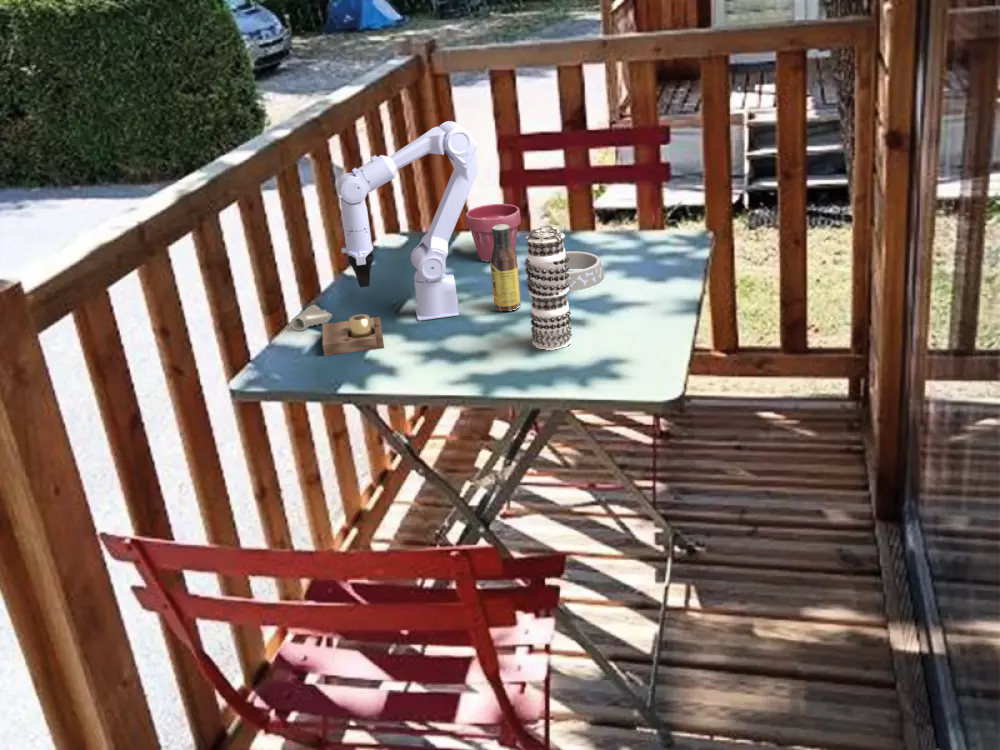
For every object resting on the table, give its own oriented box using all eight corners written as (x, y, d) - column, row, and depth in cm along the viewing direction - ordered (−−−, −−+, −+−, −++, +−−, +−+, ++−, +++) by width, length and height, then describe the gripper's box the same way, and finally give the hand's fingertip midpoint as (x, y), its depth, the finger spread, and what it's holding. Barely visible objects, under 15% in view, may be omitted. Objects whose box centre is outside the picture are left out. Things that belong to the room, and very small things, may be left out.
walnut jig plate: (381, 327, 258) (379, 316, 257) (384, 347, 246) (382, 337, 245) (324, 334, 257) (322, 324, 256) (324, 355, 245) (322, 345, 244)
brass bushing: (372, 338, 252) (368, 313, 250) (373, 345, 248) (369, 319, 246) (352, 340, 252) (349, 315, 250) (353, 348, 248) (349, 322, 246)
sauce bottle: (497, 303, 266) (490, 222, 258) (523, 303, 265) (517, 221, 257) (491, 313, 260) (484, 230, 252) (518, 313, 259) (511, 230, 251)
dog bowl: (585, 297, 266) (584, 276, 264) (518, 289, 275) (516, 268, 273) (617, 275, 279) (616, 254, 277) (552, 267, 288) (551, 247, 286)
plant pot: (458, 260, 299) (454, 213, 294) (497, 246, 308) (493, 200, 303) (495, 270, 289) (491, 221, 284) (534, 255, 298) (531, 208, 293)
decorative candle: (568, 332, 246) (561, 220, 236) (578, 347, 238) (571, 232, 228) (527, 338, 245) (518, 226, 235) (535, 353, 237) (527, 238, 227)
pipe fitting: (334, 322, 266) (309, 318, 268) (333, 306, 264) (307, 303, 266) (318, 334, 259) (292, 331, 261) (317, 319, 257) (291, 315, 259)
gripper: (338, 221, 257) (346, 278, 263) (339, 239, 244) (347, 298, 250) (369, 217, 258) (376, 274, 263) (371, 235, 245) (379, 294, 250)
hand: (364, 286), depth 257 cm, fingers closed
